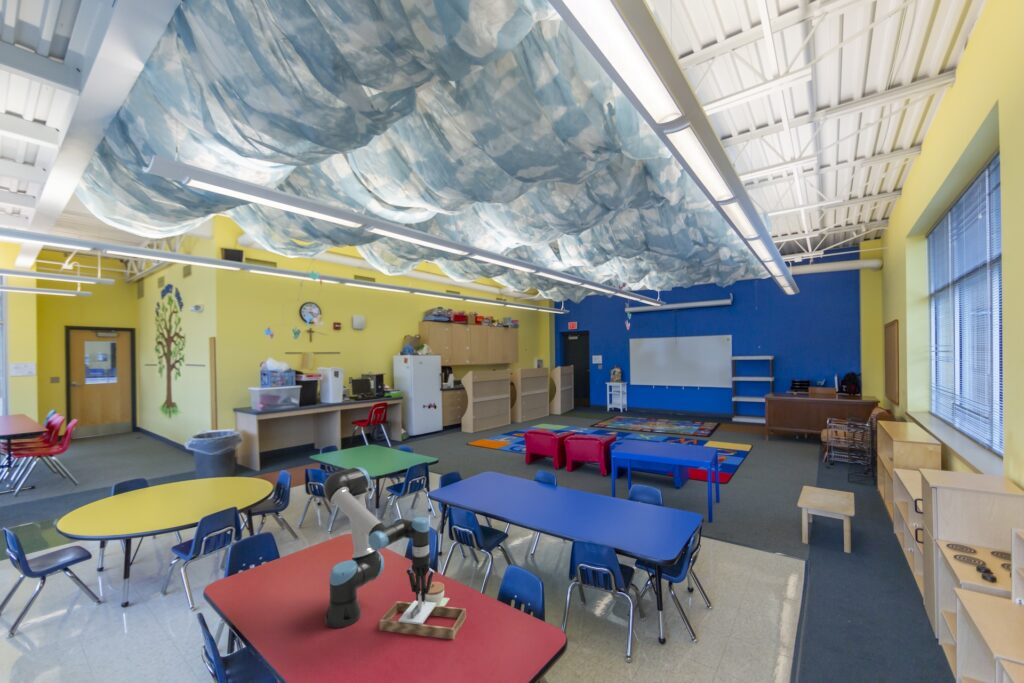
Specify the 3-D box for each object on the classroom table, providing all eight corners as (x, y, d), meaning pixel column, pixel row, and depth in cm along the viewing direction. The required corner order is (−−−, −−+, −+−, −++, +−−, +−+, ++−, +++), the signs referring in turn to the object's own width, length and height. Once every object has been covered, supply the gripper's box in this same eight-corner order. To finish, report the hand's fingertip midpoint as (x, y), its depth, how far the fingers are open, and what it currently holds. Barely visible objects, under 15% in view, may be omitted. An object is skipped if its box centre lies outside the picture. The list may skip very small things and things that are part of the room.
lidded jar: (440, 610, 201) (440, 589, 202) (418, 608, 203) (418, 588, 204) (447, 598, 212) (447, 578, 213) (427, 596, 214) (426, 577, 214)
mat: (416, 610, 203) (416, 608, 203) (426, 596, 215) (426, 595, 215) (440, 612, 201) (440, 611, 201) (449, 599, 212) (449, 598, 212)
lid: (398, 621, 186) (398, 613, 187) (414, 602, 202) (414, 594, 202) (422, 624, 184) (421, 616, 184) (436, 604, 200) (436, 596, 200)
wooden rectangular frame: (379, 630, 188) (379, 620, 188) (397, 609, 204) (397, 601, 204) (453, 639, 181) (453, 629, 181) (465, 617, 196) (465, 608, 197)
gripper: (403, 556, 192) (403, 611, 191) (431, 558, 189) (431, 614, 188) (411, 549, 199) (411, 602, 198) (437, 551, 197) (437, 605, 195)
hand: (420, 608), depth 193 cm, fingers closed
